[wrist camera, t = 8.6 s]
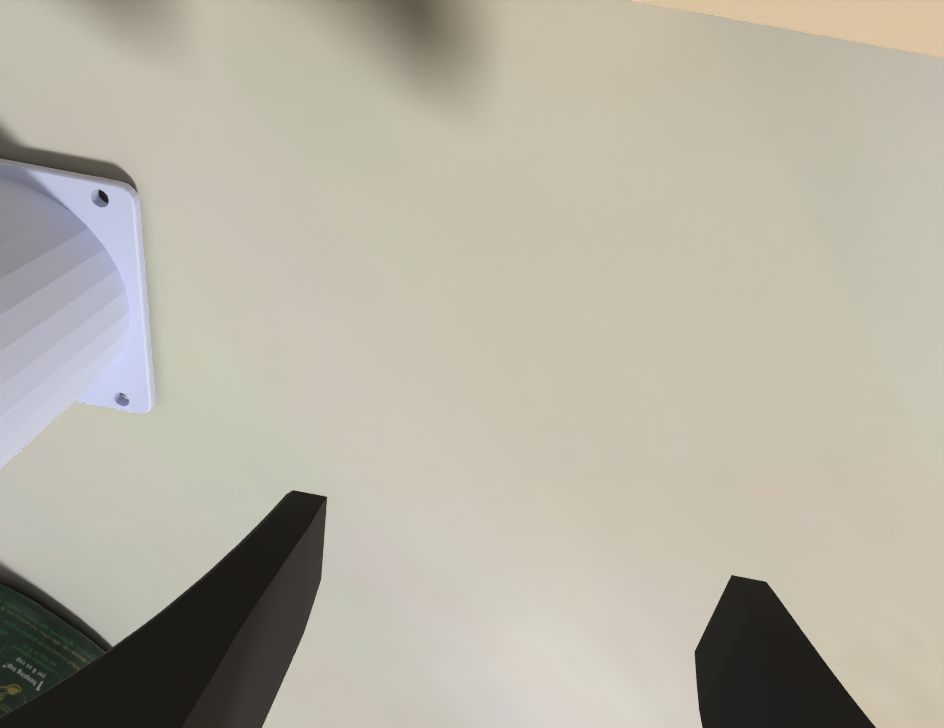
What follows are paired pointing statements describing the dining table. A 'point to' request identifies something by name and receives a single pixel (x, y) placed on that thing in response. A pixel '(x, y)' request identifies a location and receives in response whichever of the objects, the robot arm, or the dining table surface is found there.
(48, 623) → the coffee jar
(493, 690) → the dining table surface
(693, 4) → the tan flat square block
